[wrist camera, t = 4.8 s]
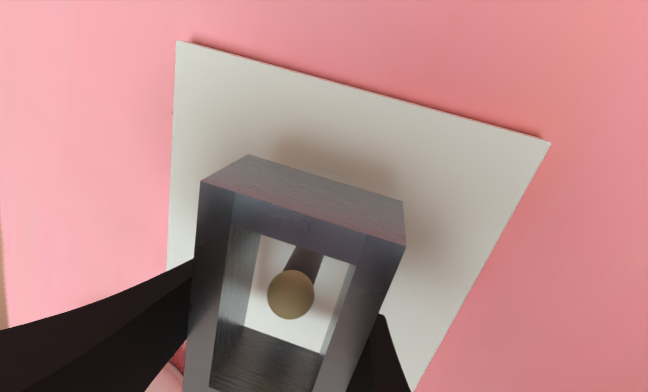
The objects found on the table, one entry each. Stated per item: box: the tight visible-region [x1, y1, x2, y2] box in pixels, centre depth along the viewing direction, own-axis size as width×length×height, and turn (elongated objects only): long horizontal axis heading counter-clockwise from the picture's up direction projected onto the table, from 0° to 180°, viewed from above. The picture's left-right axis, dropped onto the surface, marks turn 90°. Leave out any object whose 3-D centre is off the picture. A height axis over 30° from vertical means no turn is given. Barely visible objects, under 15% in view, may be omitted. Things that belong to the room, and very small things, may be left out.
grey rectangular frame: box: [182, 154, 407, 392], centre depth 11 cm, size 9×6×3 cm, turn 166°
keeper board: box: [166, 40, 552, 392], centre depth 13 cm, size 15×15×5 cm
